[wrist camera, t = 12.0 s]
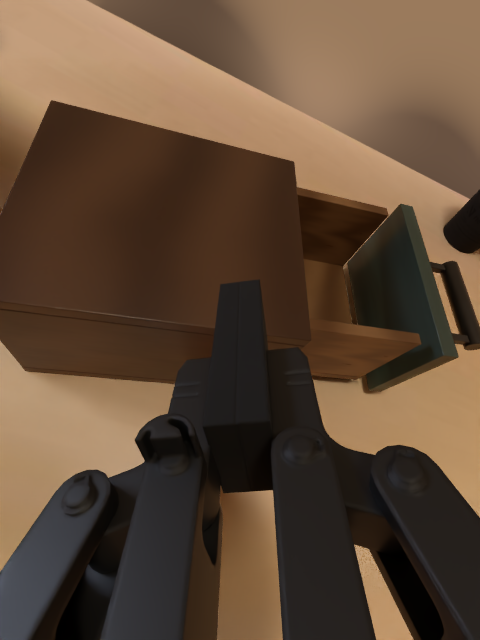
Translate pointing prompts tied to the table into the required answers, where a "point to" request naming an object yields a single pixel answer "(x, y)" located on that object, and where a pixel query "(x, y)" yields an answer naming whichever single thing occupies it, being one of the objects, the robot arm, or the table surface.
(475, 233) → the drinking cup
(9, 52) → the table surface
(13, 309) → the cabinet
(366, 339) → the drawer
